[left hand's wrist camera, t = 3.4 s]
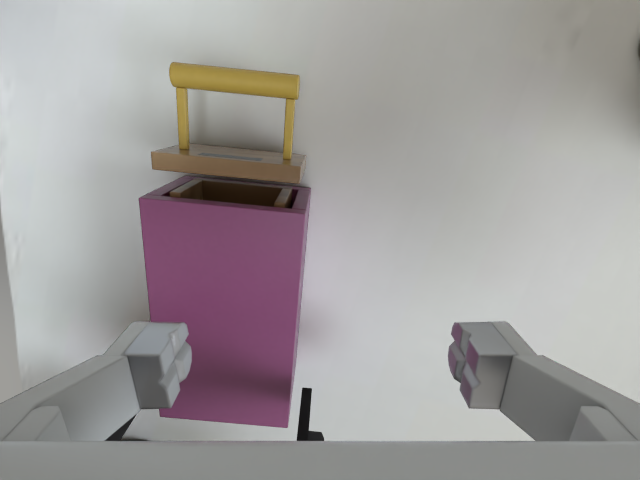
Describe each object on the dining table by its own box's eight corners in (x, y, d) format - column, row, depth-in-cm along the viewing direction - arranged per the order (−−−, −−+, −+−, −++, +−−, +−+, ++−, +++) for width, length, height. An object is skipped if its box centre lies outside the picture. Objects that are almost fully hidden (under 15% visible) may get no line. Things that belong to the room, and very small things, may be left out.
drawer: (182, 66, 27) (142, 55, 21) (312, 80, 27) (308, 72, 21) (193, 328, 36) (168, 370, 30) (292, 337, 36) (285, 381, 30)
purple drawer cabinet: (184, 175, 31) (138, 197, 23) (310, 187, 31) (305, 214, 24) (193, 355, 38) (159, 417, 31) (295, 364, 38) (287, 428, 31)
